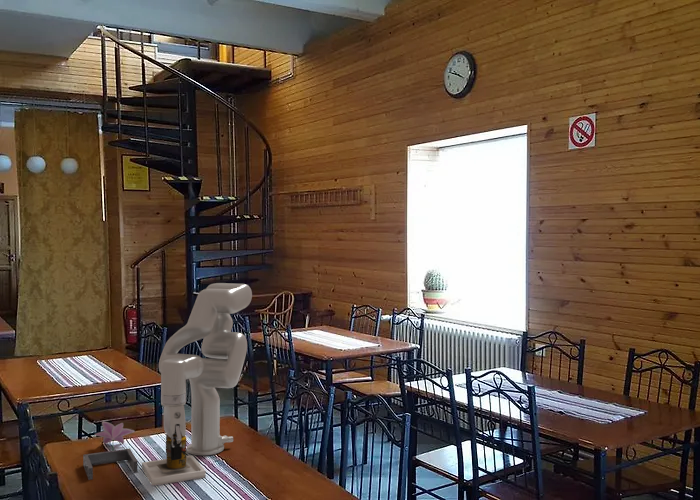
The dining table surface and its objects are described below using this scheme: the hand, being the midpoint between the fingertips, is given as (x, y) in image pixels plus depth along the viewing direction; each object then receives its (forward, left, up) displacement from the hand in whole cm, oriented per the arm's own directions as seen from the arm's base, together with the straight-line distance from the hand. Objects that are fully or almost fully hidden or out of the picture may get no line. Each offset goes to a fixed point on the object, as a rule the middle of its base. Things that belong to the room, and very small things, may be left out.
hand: (173, 455), depth 209 cm
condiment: (0, 0, -4) cm, 4 cm away
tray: (0, 0, -5) cm, 5 cm away
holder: (+17, -12, -5) cm, 22 cm away
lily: (+13, -34, -6) cm, 37 cm away
